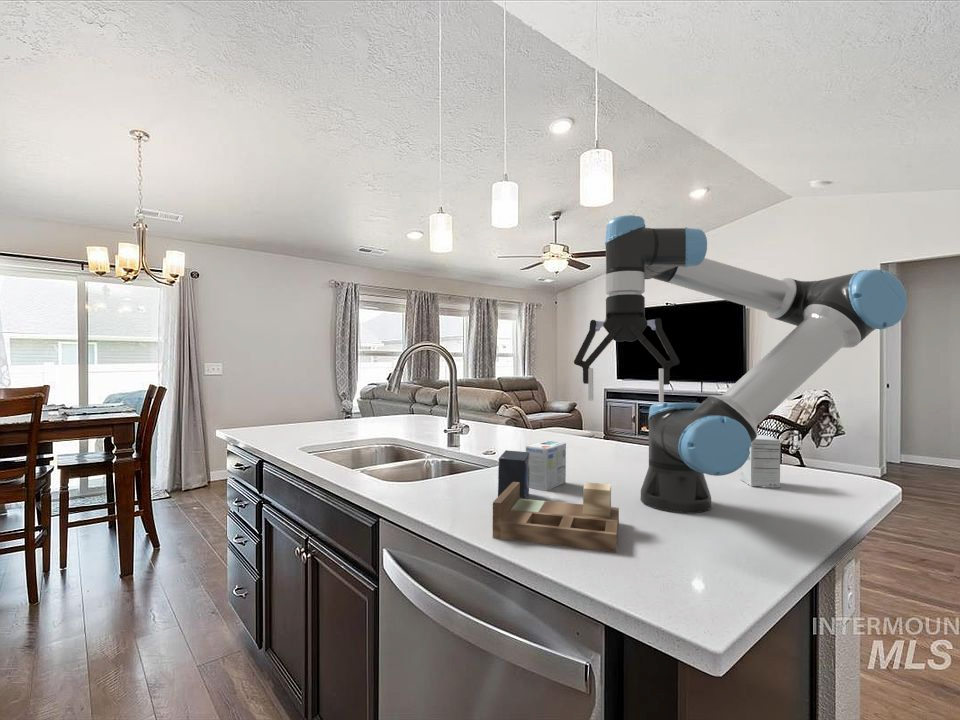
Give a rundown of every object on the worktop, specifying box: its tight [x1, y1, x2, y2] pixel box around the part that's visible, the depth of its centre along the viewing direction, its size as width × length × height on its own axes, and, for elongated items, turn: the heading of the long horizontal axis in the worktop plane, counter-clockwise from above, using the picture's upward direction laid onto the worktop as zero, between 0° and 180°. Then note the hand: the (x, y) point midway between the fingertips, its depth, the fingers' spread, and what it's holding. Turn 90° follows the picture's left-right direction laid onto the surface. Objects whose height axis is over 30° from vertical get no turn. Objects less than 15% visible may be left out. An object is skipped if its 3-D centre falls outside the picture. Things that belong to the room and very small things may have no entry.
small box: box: [497, 450, 530, 499], centre depth 116 cm, size 11×6×10 cm, turn 168°
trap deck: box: [492, 482, 620, 553], centre depth 95 cm, size 22×16×6 cm
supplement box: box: [739, 434, 781, 488], centre depth 131 cm, size 7×7×13 cm
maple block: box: [582, 481, 612, 517], centre depth 97 cm, size 5×5×5 cm
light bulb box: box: [525, 440, 567, 492], centre depth 129 cm, size 11×7×11 cm, turn 144°
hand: (625, 400), depth 99 cm, fingers open, 13 cm apart
